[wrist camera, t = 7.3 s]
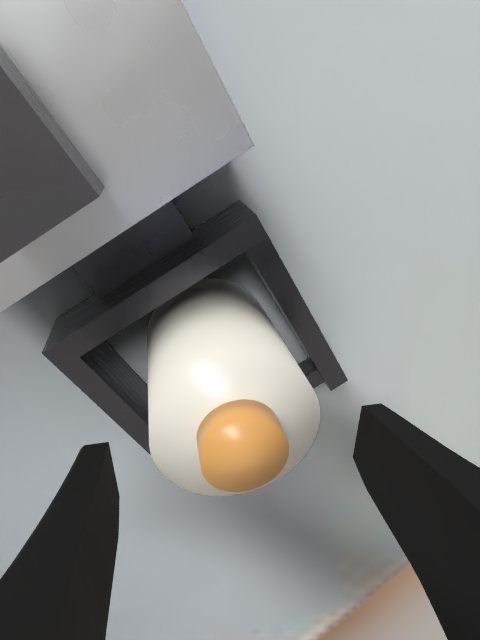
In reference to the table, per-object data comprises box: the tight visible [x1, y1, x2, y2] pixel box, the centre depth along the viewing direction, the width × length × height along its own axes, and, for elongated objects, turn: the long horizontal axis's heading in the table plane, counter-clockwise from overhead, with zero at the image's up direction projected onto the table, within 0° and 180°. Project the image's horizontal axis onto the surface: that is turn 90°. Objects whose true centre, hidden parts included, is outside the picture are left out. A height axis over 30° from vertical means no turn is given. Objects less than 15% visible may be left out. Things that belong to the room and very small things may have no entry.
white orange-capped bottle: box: [147, 279, 320, 496], centre depth 14 cm, size 5×5×7 cm
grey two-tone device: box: [0, 0, 348, 455], centre depth 11 cm, size 22×9×6 cm, turn 30°
